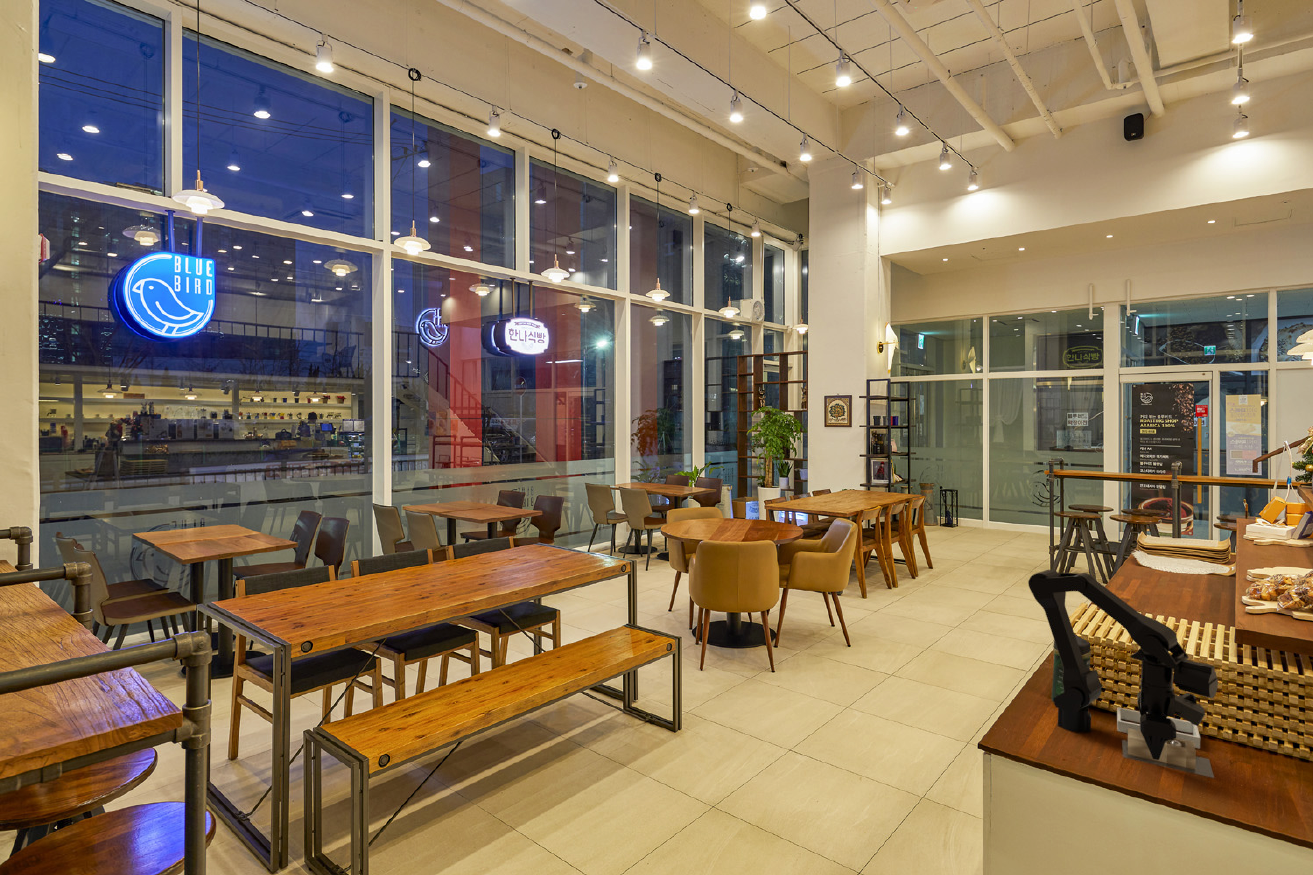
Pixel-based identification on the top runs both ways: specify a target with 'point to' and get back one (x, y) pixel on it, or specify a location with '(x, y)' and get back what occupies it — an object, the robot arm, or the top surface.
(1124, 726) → the tray
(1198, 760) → the stud base
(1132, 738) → the beige rectangular block
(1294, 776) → the top surface
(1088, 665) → the coffee jar
